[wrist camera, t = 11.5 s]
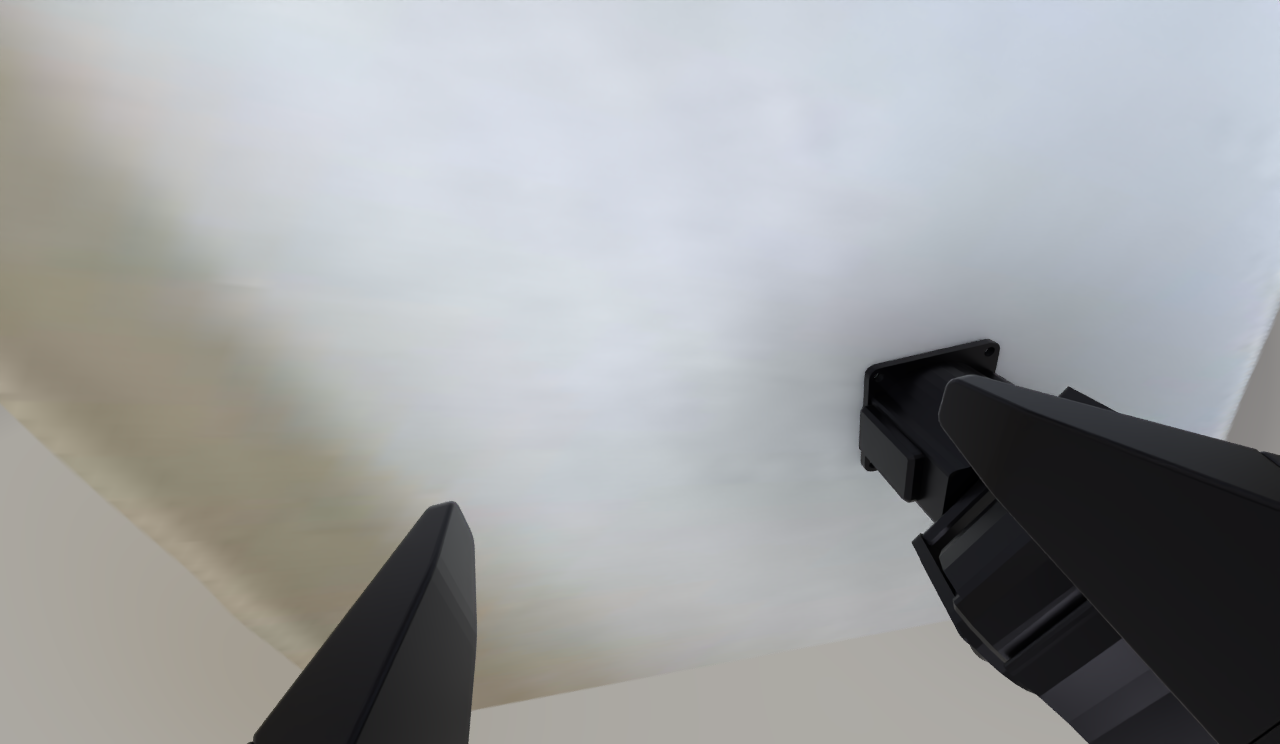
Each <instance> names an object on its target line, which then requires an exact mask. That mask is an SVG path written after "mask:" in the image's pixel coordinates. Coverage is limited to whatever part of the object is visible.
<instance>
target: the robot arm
mask: <svg viewBox="0 0 1280 744" xmlns="http://www.w3.org/2000/svg"><path fill="white" fill-rule="evenodd" d="M987 349H988V350H987ZM986 350H987V351H986ZM999 351H1000V346H999V344H998V343H996V342H994V341H992V340H990V339H984V340H979V341H975V342H971V343H966V344H962V345H958V346H953V347H949V348H945V349H940V350H936V351H932V352H927V353H923V354H918V355H914V356H910V357H905V358H901V359H897V360H892V361H888V362H884V363H879V364H875V365H872V366H871V367H869V368H868V369H867V371H866V372H865V377H864V399H863V407H862V409H861V412H860V434H859V449H860V450H861V465H862V466H863V467H864V468H865V469H866V470H867V471H876V470H878V471H879V472H880V473H881V475H882V476H883V477H884V478H885V479H886V480H887V482H888V483H889V484H890V485H891V486H892V487H893V489H894V490H895V491H896V492H897V493H898V494H899V496H900V497H901V498H902V499H903V500H905V501H906V502H908V503H910V502H914V501H916V503H917V504H918V505H919V506H920V507H921V508H922V509H923V511H924V512H925V513H926V514H927V515H928V516H929V517H930V518H931V520H932V521H933V522H934V524H933V525H932V526H931V527H930V528H929V529H928V530H927V531H926V532H925V533H924V534H921V533H920V534H919V535H918V536H917V537H916V538H915V539H914V540H913V541H912V544H913V546H914V548H915V550H916V552H917V554H918V556H919V558H920V561H921V563H922V565H923V566H924V568H925V570H926V572H927V574H928V576H929V578H930V580H931V582H932V584H933V585H934V587H935V589H936V591H937V593H938V595H939V597H940V599H941V601H942V603H943V604H944V606H945V608H946V610H947V612H948V614H949V616H950V618H951V620H952V622H953V623H954V625H955V627H956V629H957V631H958V633H959V634H960V636H961V637H962V638H963V639H964V640H965V641H966V642H967V643H968V644H969V645H970V646H971V649H972V650H973V652H974V653H975V654H976V655H977V656H978V657H979V658H981V659H982V660H984V661H987V662H989V663H990V664H991V665H992V666H994V668H996V669H997V670H998V671H999V672H1000V673H1001V674H1003V675H1004V676H1005V677H1007V678H1008V679H1009V680H1011V681H1012V682H1013V683H1015V684H1016V685H1018V686H1020V687H1021V688H1024V689H1025V690H1027V691H1029V692H1032V693H1034V694H1036V695H1037V696H1039V697H1040V698H1041V699H1042V700H1043V701H1044V702H1045V703H1047V704H1048V705H1049V706H1050V707H1051V708H1052V709H1053V710H1054V711H1056V712H1057V713H1058V714H1059V715H1060V716H1061V717H1062V718H1063V719H1064V720H1065V721H1067V722H1068V723H1069V724H1070V725H1071V726H1072V727H1073V728H1074V729H1075V730H1076V731H1077V732H1078V733H1079V734H1080V735H1081V736H1082V737H1083V738H1084V739H1085V740H1086V741H1087V742H1088V743H1089V744H1280V455H1276V454H1273V453H1268V452H1259V451H1258V450H1256V449H1253V448H1249V447H1245V446H1242V445H1238V444H1234V443H1230V442H1227V441H1223V440H1219V439H1215V438H1212V437H1208V436H1204V435H1200V434H1197V433H1193V432H1189V431H1185V430H1182V429H1178V428H1174V427H1170V426H1166V425H1163V424H1159V423H1155V422H1151V421H1148V420H1144V419H1140V418H1136V417H1132V416H1129V415H1125V414H1121V413H1118V412H1116V411H1114V410H1112V409H1110V408H1108V407H1106V406H1105V405H1103V404H1101V403H1099V402H1097V401H1095V400H1093V399H1091V398H1089V397H1088V396H1086V395H1084V394H1082V393H1080V392H1078V391H1076V390H1074V389H1072V388H1071V387H1069V386H1068V387H1067V388H1066V389H1065V390H1064V391H1063V392H1062V393H1061V394H1060V395H1059V396H1058V397H1057V396H1053V395H1049V394H1046V393H1042V392H1038V391H1034V390H1031V389H1027V388H1023V387H1019V386H1015V385H1014V384H1012V383H1011V382H1009V381H1007V380H1006V379H1004V378H1002V377H1001V376H999V375H997V374H996V373H995V370H996V365H997V360H998V356H999ZM877 373H879V375H878V376H877V377H875V375H876V374H877ZM874 377H875V378H874ZM870 462H871V463H870ZM476 643H477V613H476V579H475V547H474V539H473V535H472V532H471V530H470V528H469V526H468V524H467V522H466V520H465V517H464V515H463V513H462V511H461V509H460V507H459V505H458V504H457V503H456V502H454V501H449V502H445V503H441V504H437V505H433V506H430V507H429V508H428V509H427V510H426V511H425V512H424V513H423V515H422V516H421V517H420V519H419V520H418V521H417V522H416V524H415V525H414V526H413V528H412V529H411V530H410V532H409V533H408V534H407V536H406V537H405V538H404V539H403V541H402V542H401V543H400V545H399V546H398V547H397V549H396V550H395V551H394V552H393V554H392V555H391V556H390V558H389V559H388V560H387V562H386V563H385V564H384V566H383V567H382V568H381V569H380V571H379V572H378V573H377V575H376V576H375V577H374V579H373V580H372V581H371V583H370V584H369V585H368V586H367V588H366V589H365V590H364V592H363V593H362V594H361V596H360V597H359V598H358V600H357V601H356V602H355V603H354V605H353V606H352V607H351V609H350V610H349V611H348V613H347V614H346V615H345V617H344V618H343V619H342V620H341V622H340V623H339V624H338V626H337V627H336V628H335V630H334V631H333V632H332V634H331V635H330V636H329V637H328V639H327V640H326V641H325V643H324V644H323V645H322V647H321V648H320V649H319V650H318V652H317V653H316V654H315V656H314V657H313V658H312V660H311V661H310V662H309V664H308V665H307V666H306V667H305V669H304V670H303V671H302V673H301V674H300V675H299V677H298V678H297V679H296V681H295V682H294V683H293V685H292V686H291V687H290V689H289V690H288V691H287V692H286V694H285V695H284V696H283V698H282V699H281V700H280V701H279V703H278V704H277V706H276V707H275V708H274V709H273V711H272V712H271V713H270V715H269V716H268V717H267V718H266V720H265V721H264V722H263V724H262V725H261V726H260V728H259V729H258V730H257V732H256V733H255V734H254V737H253V742H249V743H247V744H468V741H469V729H470V717H471V705H472V694H473V682H474V670H475V658H476Z"/></svg>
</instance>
